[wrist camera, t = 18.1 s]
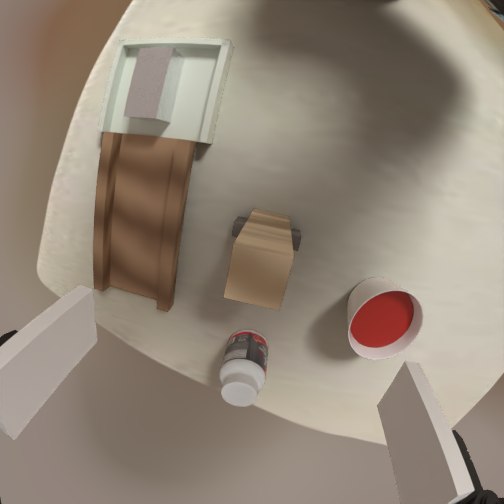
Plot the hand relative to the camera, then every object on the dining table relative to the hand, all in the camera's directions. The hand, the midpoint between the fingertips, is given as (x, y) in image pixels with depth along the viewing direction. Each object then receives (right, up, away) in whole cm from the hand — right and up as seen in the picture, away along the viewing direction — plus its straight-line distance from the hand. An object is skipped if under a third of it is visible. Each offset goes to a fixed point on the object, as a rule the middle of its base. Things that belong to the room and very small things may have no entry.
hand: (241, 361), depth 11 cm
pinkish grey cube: (-10, +21, +18) cm, 30 cm away
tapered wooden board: (+2, +7, +22) cm, 23 cm away
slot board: (-13, +8, +23) cm, 28 cm away
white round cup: (+16, -2, +24) cm, 28 cm away
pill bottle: (0, -8, +27) cm, 28 cm away
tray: (-10, +23, +18) cm, 31 cm away
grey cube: (-9, +25, +17) cm, 31 cm away
